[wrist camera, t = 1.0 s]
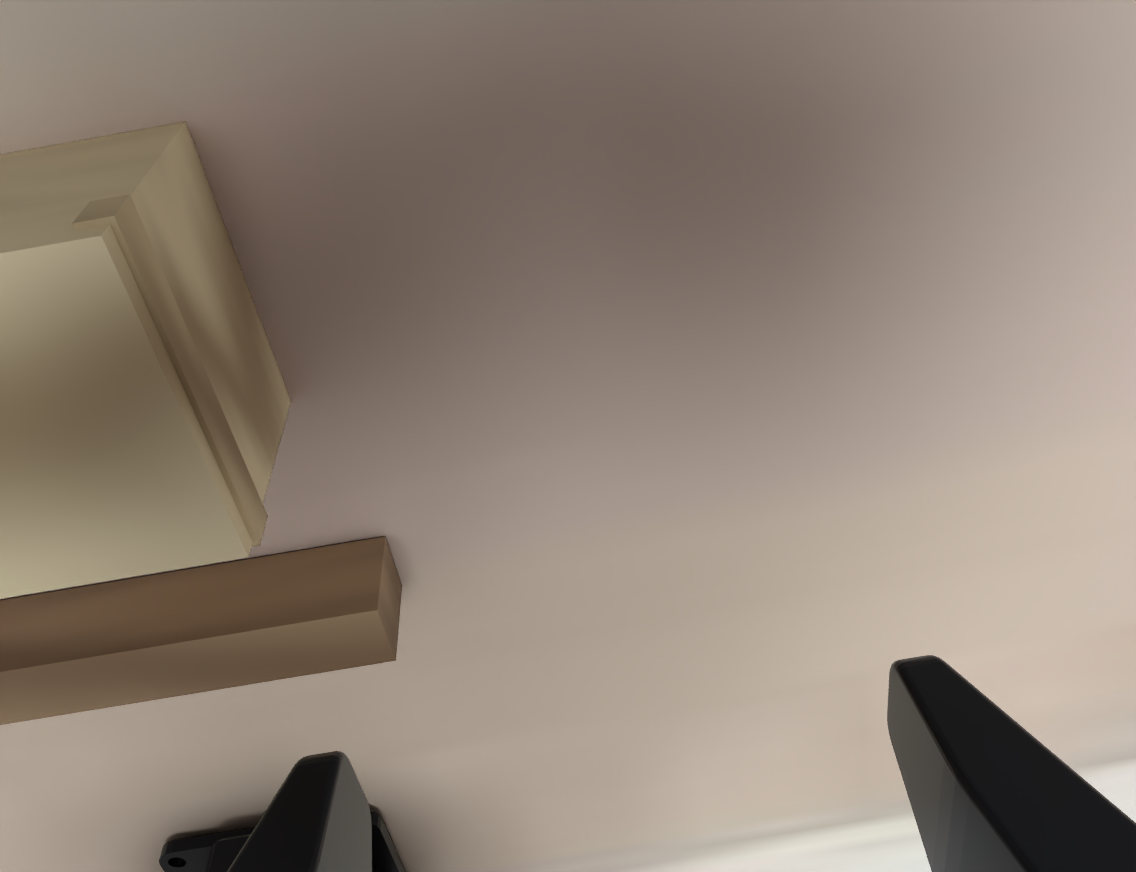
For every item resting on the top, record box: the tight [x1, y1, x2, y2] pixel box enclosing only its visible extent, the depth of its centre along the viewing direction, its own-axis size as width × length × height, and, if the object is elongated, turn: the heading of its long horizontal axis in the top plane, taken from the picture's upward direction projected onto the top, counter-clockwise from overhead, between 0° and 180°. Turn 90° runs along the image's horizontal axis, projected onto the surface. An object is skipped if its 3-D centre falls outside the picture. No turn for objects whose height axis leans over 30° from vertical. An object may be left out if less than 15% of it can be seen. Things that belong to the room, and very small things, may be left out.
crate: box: [0, 122, 291, 599], centre depth 18 cm, size 6×6×5 cm
